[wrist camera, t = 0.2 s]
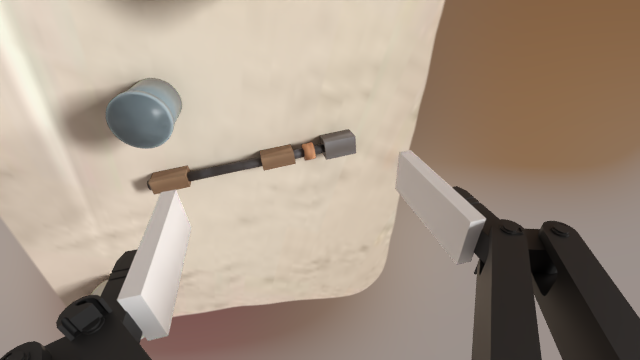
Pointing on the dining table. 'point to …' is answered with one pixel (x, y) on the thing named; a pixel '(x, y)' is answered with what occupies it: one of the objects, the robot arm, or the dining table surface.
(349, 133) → the cord rig
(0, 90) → the dining table surface
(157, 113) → the dome-topped knob
